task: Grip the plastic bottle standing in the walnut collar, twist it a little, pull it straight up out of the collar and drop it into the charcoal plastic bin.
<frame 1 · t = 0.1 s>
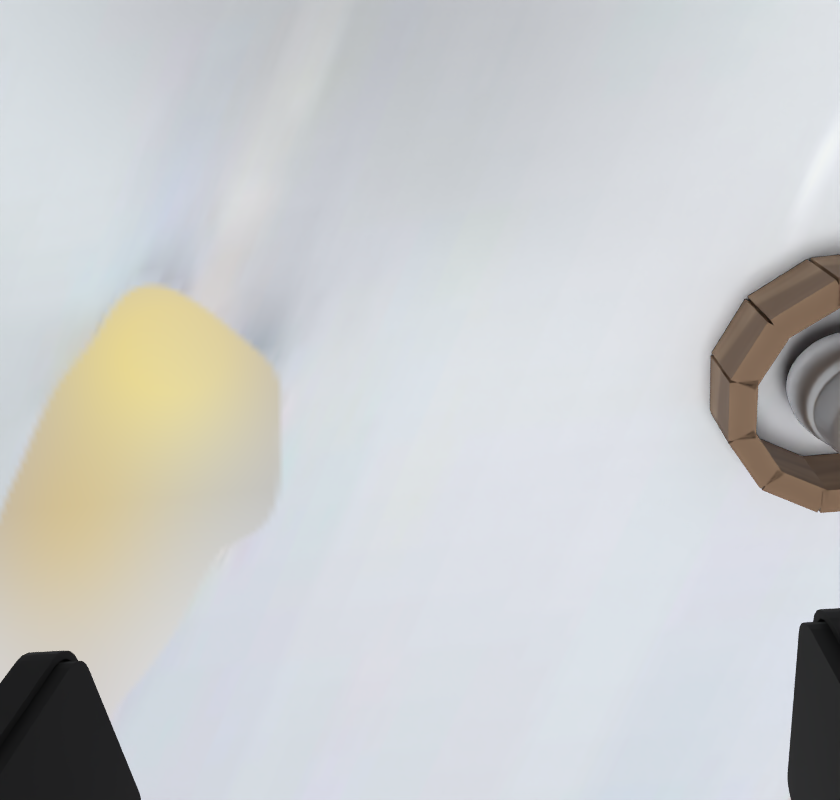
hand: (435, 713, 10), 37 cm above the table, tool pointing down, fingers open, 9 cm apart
walnut collar: (834, 371, 46), on the table
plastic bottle: (833, 370, 46), resting in walnut collar
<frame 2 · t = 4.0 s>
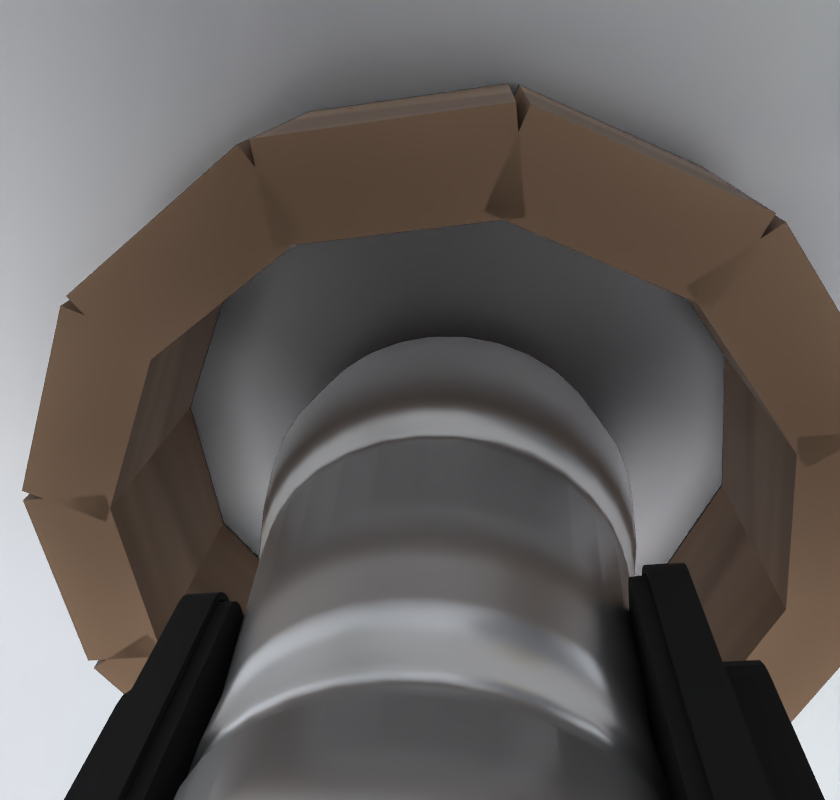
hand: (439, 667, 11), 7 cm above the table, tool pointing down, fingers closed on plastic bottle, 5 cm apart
walnut collar: (454, 446, 17), on the table
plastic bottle: (455, 442, 17), resting in walnut collar, touching gripper
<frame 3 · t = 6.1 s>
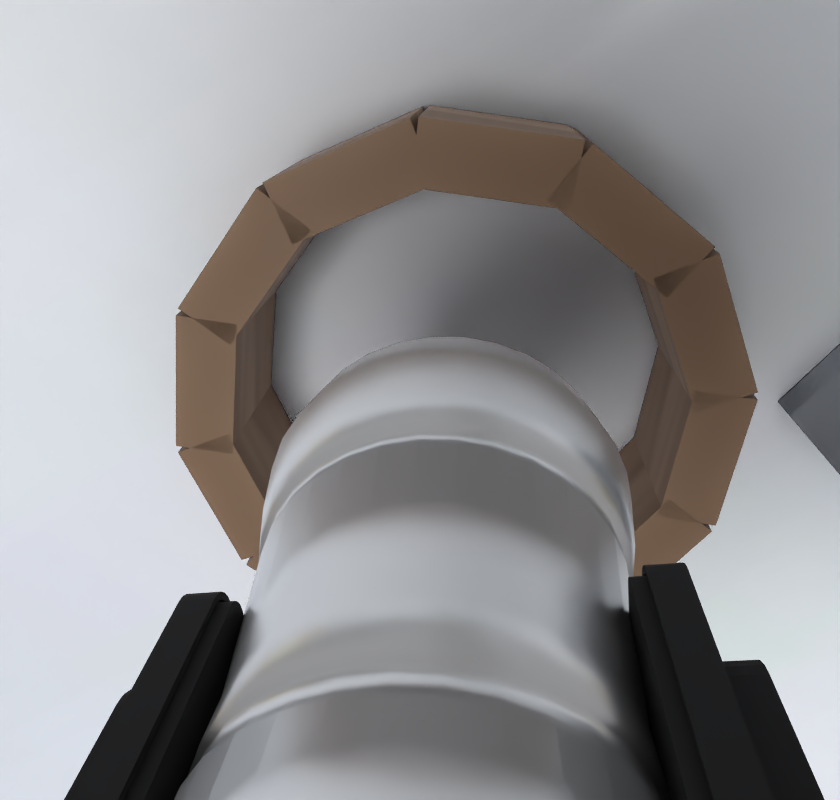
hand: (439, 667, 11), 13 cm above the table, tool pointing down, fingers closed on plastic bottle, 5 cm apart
walnut collar: (458, 366, 23), on the table
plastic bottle: (454, 442, 17), point 6 cm above the table, touching gripper
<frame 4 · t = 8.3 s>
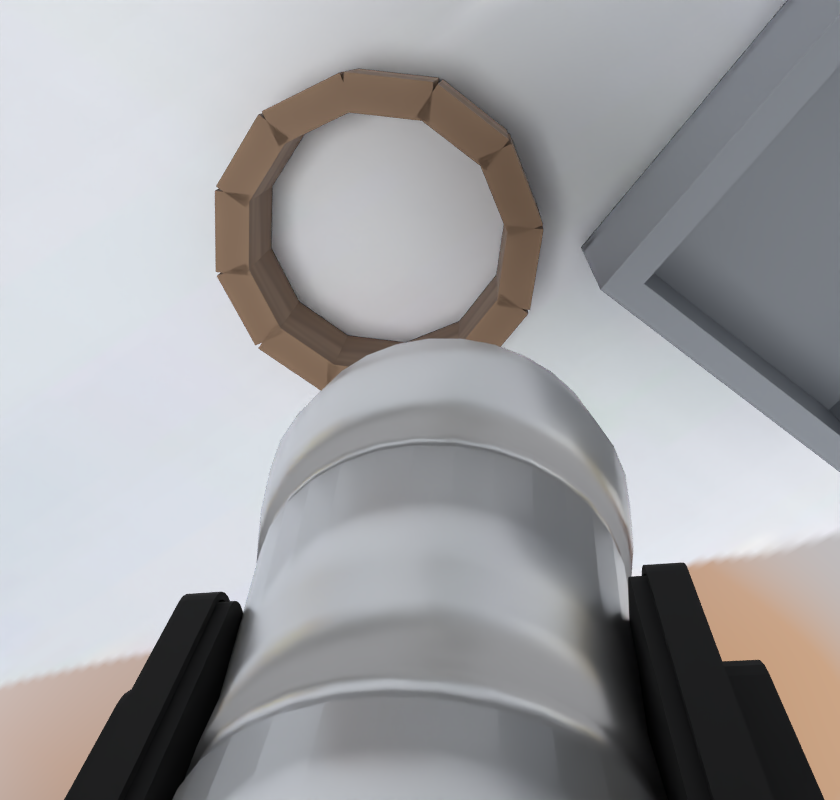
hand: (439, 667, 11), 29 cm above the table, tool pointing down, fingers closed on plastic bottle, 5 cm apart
charcoal bin: (830, 212, 36), on the table
walnut collar: (385, 231, 38), on the table
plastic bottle: (452, 443, 17), point 22 cm above the table, touching gripper
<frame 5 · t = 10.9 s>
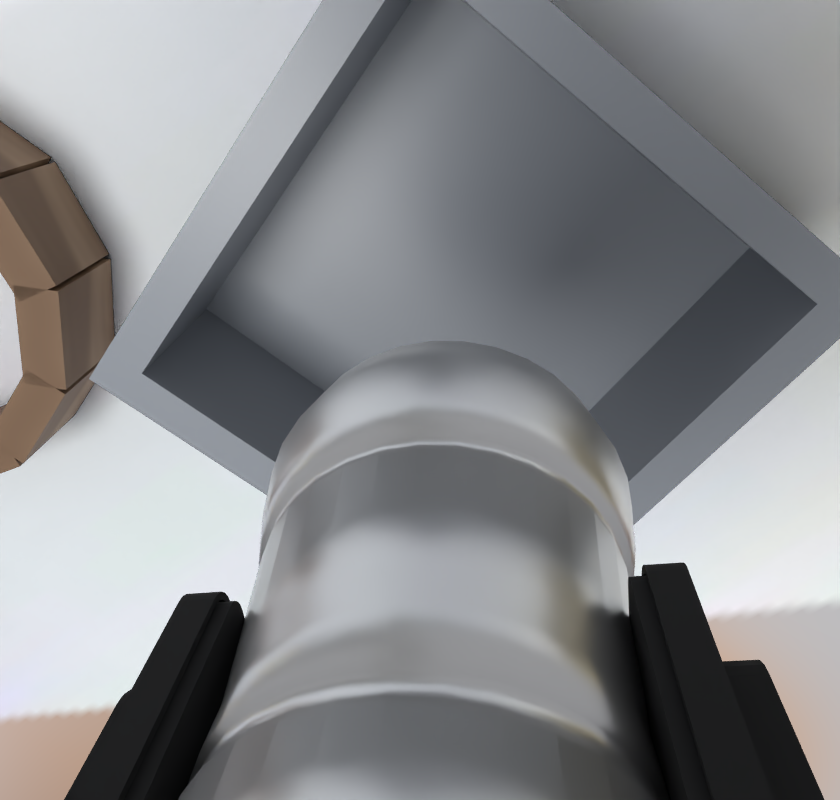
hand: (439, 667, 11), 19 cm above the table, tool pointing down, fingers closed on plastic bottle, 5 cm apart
charcoal bin: (466, 271, 29), on the table
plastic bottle: (454, 445, 17), point 13 cm above the table, touching gripper
when the fingers open (10 cm above the table, at t = 12.8 s): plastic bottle drops 3 cm, resting on charcoal bin.
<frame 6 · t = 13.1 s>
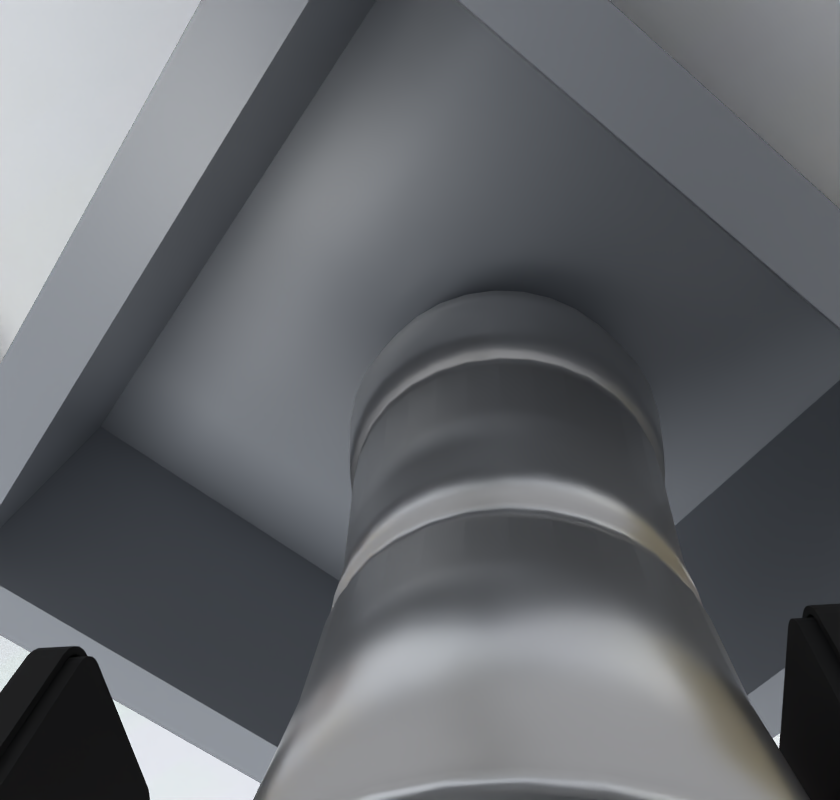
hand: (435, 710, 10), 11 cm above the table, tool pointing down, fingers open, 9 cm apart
charcoal bin: (461, 377, 20), on the table
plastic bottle: (501, 389, 20), point 1 cm above the table, touching charcoal bin
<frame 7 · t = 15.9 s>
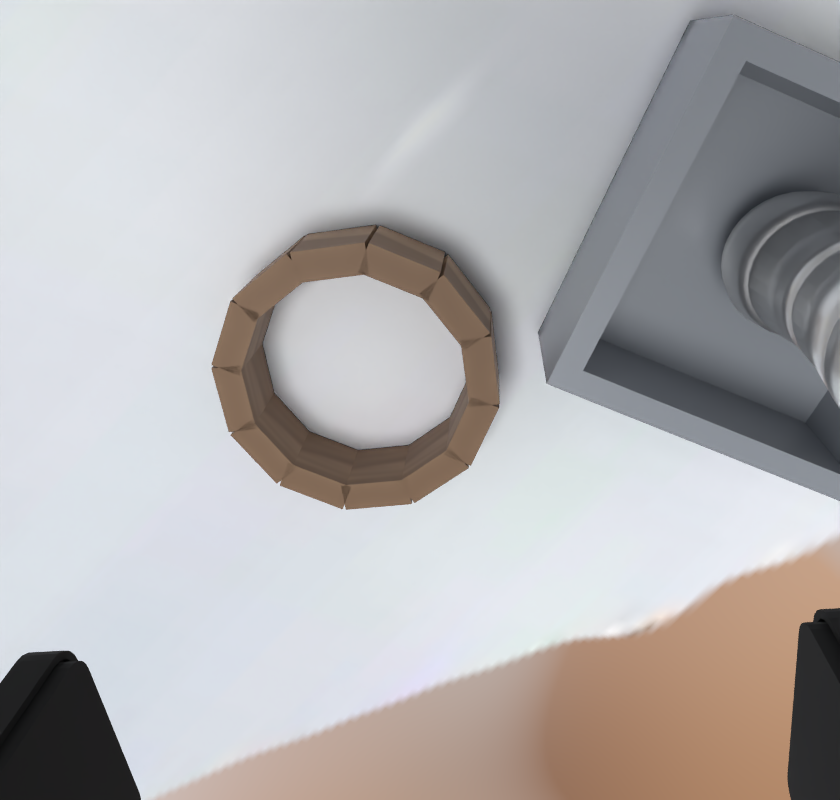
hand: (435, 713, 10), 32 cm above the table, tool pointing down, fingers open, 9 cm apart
charcoal bin: (753, 251, 39), on the table
walnut collar: (366, 357, 43), on the table
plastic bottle: (780, 249, 38), point 1 cm above the table, touching charcoal bin
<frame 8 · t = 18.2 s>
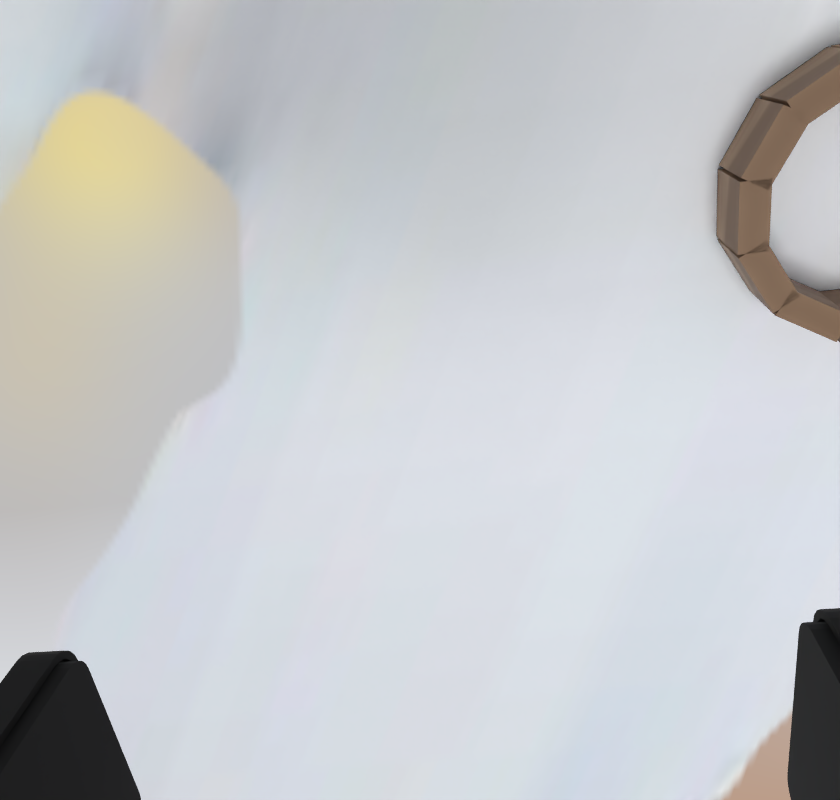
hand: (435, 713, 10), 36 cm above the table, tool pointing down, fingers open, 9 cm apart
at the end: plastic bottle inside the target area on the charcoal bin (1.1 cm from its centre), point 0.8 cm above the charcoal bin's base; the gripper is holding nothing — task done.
